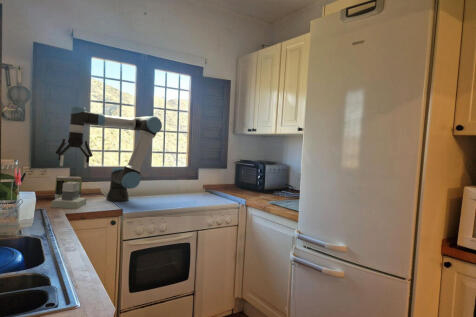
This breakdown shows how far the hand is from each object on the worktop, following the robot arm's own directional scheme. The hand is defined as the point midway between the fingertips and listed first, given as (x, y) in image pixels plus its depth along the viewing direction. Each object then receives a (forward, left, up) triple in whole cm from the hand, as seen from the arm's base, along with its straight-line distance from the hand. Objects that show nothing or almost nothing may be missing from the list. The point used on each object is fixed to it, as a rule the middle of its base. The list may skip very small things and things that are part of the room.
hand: (73, 167), depth 183 cm
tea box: (+10, -24, -24) cm, 35 cm away
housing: (0, 0, -20) cm, 20 cm away
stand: (0, 0, -24) cm, 24 cm away
